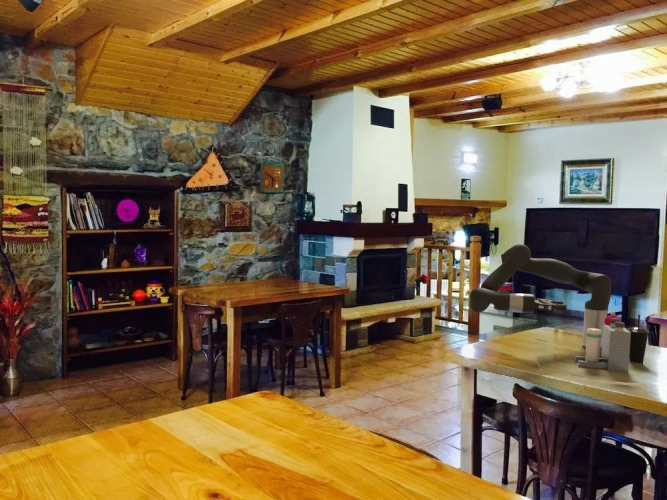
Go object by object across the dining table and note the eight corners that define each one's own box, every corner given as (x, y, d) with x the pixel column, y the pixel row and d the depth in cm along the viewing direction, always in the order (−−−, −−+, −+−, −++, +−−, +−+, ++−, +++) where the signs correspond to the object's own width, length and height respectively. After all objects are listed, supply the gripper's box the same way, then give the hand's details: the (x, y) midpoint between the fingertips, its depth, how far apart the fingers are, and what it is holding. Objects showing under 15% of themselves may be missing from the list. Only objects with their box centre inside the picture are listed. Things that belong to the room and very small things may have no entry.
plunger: (608, 334, 221) (609, 317, 221) (617, 334, 221) (618, 318, 220) (610, 335, 218) (611, 319, 218) (619, 336, 218) (620, 319, 217)
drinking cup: (621, 360, 230) (624, 312, 229) (639, 360, 231) (642, 312, 229) (632, 366, 222) (636, 316, 221) (651, 366, 223) (654, 316, 222)
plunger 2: (613, 338, 214) (614, 321, 213) (622, 339, 213) (623, 322, 212) (615, 340, 211) (616, 323, 210) (624, 340, 210) (625, 323, 209)
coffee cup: (583, 362, 222) (585, 327, 221) (597, 363, 220) (599, 328, 219) (585, 366, 217) (588, 330, 216) (600, 367, 215) (602, 331, 214)
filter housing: (573, 362, 226) (576, 323, 225) (620, 366, 221) (622, 326, 220) (579, 370, 214) (581, 328, 213) (628, 374, 210) (630, 332, 209)
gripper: (523, 296, 216) (568, 299, 212) (520, 291, 230) (562, 294, 226) (522, 315, 217) (566, 318, 213) (519, 309, 231) (561, 312, 227)
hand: (564, 306), depth 220 cm, fingers open, 8 cm apart
